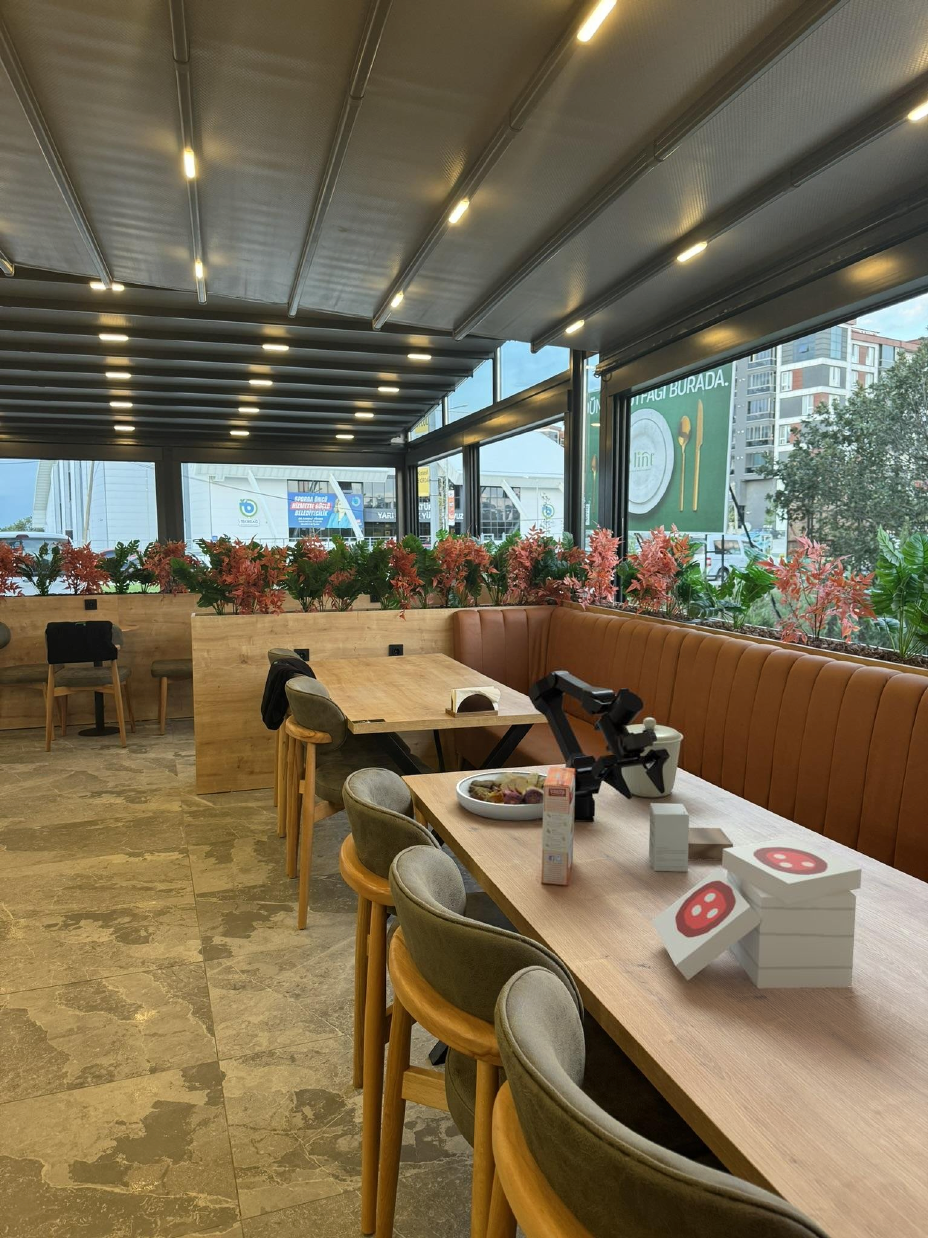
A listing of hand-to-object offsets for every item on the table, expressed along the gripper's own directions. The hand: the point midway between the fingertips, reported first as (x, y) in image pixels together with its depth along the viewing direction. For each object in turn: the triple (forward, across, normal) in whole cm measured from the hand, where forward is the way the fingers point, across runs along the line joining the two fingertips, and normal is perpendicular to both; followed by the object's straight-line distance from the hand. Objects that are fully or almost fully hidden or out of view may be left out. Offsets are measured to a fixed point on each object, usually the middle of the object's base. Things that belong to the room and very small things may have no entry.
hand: (647, 795), depth 180 cm
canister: (-15, +29, +34) cm, 47 cm away
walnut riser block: (+13, +12, +6) cm, 19 cm away
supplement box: (+15, 0, +4) cm, 15 cm away
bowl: (-20, -10, +40) cm, 46 cm away
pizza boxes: (+42, -15, -23) cm, 50 cm away
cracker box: (+10, -23, +9) cm, 27 cm away
